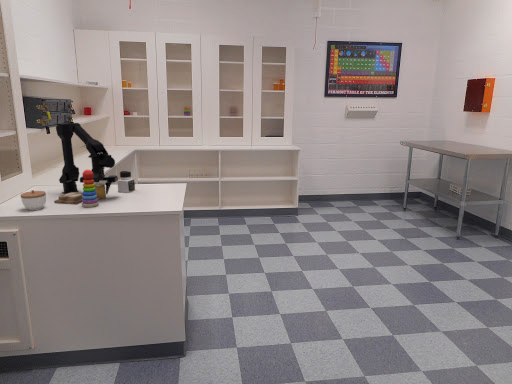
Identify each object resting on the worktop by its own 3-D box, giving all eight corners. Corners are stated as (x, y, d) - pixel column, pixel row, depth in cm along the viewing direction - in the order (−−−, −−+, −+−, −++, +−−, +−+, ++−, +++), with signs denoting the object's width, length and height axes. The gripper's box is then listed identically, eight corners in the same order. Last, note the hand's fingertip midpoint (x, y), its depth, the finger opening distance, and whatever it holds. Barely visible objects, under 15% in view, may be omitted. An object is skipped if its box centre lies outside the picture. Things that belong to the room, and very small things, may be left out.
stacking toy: (81, 208, 187) (77, 171, 182) (82, 204, 194) (78, 168, 189) (99, 206, 190) (95, 170, 185) (98, 202, 197) (95, 167, 192)
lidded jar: (48, 209, 185) (46, 191, 183) (23, 212, 179) (20, 193, 177) (46, 204, 194) (44, 186, 191) (22, 207, 188) (19, 189, 186)
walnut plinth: (54, 203, 196) (53, 196, 195) (70, 196, 208) (70, 191, 208) (76, 204, 194) (76, 198, 193) (91, 198, 206) (91, 192, 205)
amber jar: (93, 198, 205) (92, 184, 203) (99, 196, 210) (98, 182, 208) (102, 199, 204) (101, 185, 202) (107, 196, 209) (106, 182, 207)
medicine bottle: (129, 192, 218) (127, 172, 215) (118, 192, 219) (116, 172, 216) (135, 189, 225) (133, 170, 222) (124, 189, 226) (122, 169, 223)
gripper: (73, 169, 194) (77, 198, 198) (110, 168, 195) (113, 197, 199) (82, 165, 205) (85, 193, 209) (117, 165, 206) (119, 192, 210)
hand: (100, 194), depth 206 cm, fingers open, 7 cm apart
